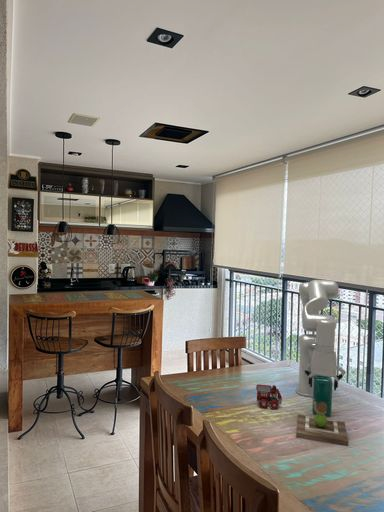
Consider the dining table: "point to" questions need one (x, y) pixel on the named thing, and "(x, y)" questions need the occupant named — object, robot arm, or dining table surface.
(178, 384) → the dining table surface
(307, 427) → the board
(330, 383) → the teal bottle
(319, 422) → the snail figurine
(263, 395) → the toy fire truck
